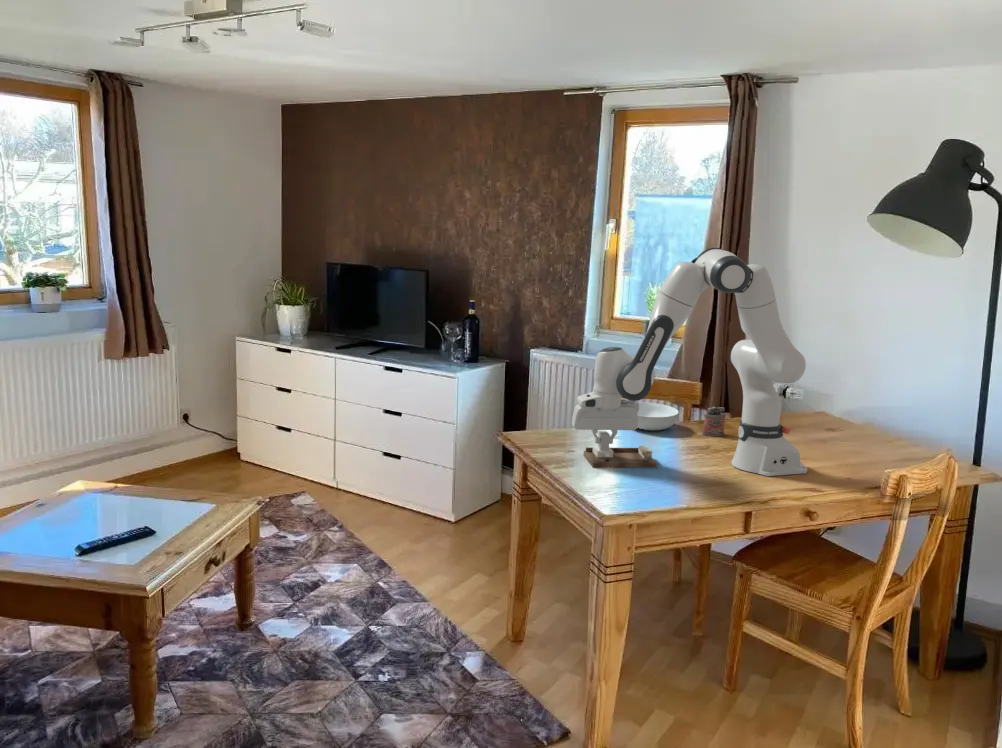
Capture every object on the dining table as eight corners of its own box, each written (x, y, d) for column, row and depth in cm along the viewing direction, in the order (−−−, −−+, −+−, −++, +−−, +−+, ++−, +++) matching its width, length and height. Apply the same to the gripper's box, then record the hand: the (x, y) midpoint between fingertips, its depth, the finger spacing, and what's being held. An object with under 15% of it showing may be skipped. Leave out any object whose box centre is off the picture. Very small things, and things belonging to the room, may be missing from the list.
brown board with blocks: (644, 455, 255) (645, 444, 254) (656, 467, 244) (657, 455, 243) (583, 455, 252) (584, 444, 252) (592, 467, 241) (593, 455, 240)
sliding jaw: (607, 451, 252) (609, 430, 250) (615, 460, 243) (617, 438, 241) (592, 451, 251) (593, 430, 250) (599, 460, 242) (601, 438, 241)
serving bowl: (608, 421, 296) (609, 403, 294) (657, 418, 303) (659, 401, 302) (637, 437, 277) (638, 417, 275) (688, 433, 284) (690, 414, 283)
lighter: (704, 436, 282) (707, 408, 280) (700, 433, 285) (703, 406, 283) (725, 435, 283) (728, 408, 281) (720, 433, 287) (723, 405, 285)
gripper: (636, 397, 249) (632, 440, 252) (572, 396, 247) (569, 440, 249) (642, 402, 243) (639, 446, 246) (576, 401, 240) (573, 445, 243)
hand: (603, 443), depth 248 cm, fingers closed on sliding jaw, 2 cm apart
